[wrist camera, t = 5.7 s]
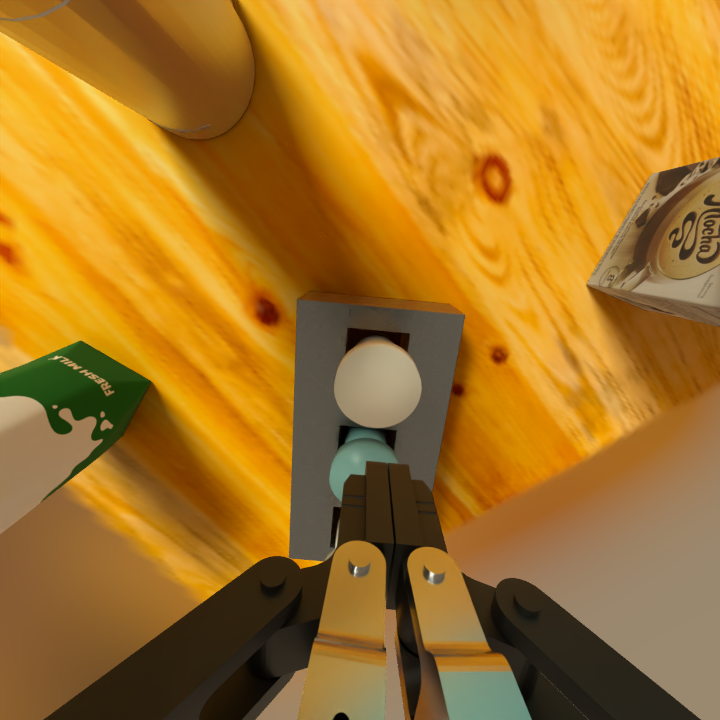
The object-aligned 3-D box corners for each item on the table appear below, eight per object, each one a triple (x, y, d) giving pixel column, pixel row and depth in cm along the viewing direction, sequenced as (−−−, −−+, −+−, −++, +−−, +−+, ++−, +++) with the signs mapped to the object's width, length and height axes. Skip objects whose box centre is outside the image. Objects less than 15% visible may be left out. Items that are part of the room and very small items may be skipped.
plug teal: (338, 407, 30) (331, 445, 24) (398, 413, 30) (405, 452, 24) (334, 459, 31) (327, 506, 25) (391, 464, 31) (396, 512, 26)
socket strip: (308, 290, 29) (297, 299, 24) (449, 304, 29) (465, 314, 24) (299, 517, 36) (289, 558, 32) (411, 527, 37) (417, 569, 32)
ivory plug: (343, 321, 25) (337, 343, 20) (414, 328, 25) (427, 351, 20) (339, 386, 27) (331, 424, 21) (404, 392, 27) (414, 431, 21)
